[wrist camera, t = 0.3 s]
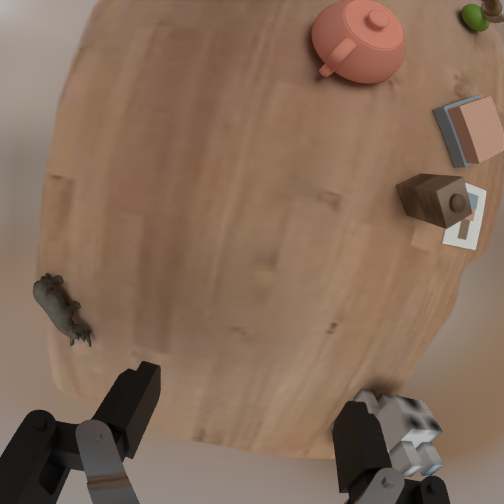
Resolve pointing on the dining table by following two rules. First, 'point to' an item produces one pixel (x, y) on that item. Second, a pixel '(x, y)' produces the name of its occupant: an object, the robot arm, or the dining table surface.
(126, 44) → the dining table surface
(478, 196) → the page
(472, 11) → the snail figurine
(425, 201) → the walnut brick
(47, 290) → the rhino figurine
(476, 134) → the tower base
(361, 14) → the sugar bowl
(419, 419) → the toy llama
